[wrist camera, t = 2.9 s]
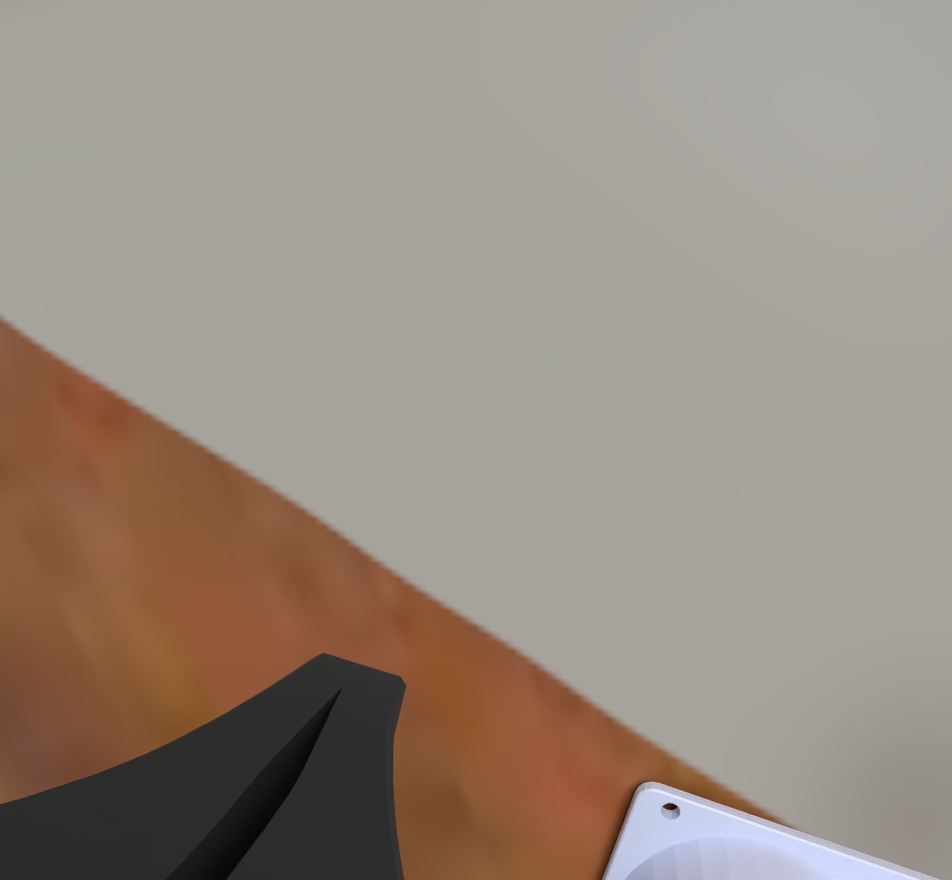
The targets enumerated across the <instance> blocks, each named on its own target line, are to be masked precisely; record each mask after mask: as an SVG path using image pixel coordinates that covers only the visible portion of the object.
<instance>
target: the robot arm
mask: <svg viewBox="0 0 952 880" xmlns="http://www.w3.org/2000/svg"><path fill="white" fill-rule="evenodd" d="M405 689H406V685H405V683H404V682H403V680H402V678H401V677H399V676H396V675H393V674H390V673H387V672H383V671H380V670H377V669H374V668H370V667H367V666H364V665H361V664H358V663H354V662H351V661H348V660H345V659H341V658H338V657H335V656H332V655H329V654H325V653H322V654H320V655H318V656H316V657H315V658H313V659H312V660H310V661H308V662H307V663H305V664H304V665H302V666H301V667H299V668H298V669H296V670H295V671H293V672H292V673H290V674H289V675H287V676H286V677H284V678H283V679H281V680H279V681H278V682H276V683H275V684H273V685H272V686H270V687H268V688H267V689H265V690H264V691H262V692H260V693H259V694H257V695H255V696H254V697H252V698H250V699H249V700H247V701H245V702H244V703H242V704H240V705H239V706H237V707H235V708H234V709H232V710H230V711H229V712H227V713H225V714H223V715H222V716H220V717H218V718H216V719H214V720H212V721H211V722H209V723H207V724H205V725H203V726H201V727H199V728H197V729H195V730H193V731H191V732H190V733H188V734H186V735H184V736H182V737H180V738H178V739H176V740H174V741H172V742H170V743H168V744H166V745H164V746H162V747H160V748H158V749H155V750H153V751H151V752H149V753H147V754H145V755H142V756H140V757H138V758H135V759H133V760H130V761H128V762H125V763H123V764H120V765H118V766H116V767H113V768H111V769H108V770H105V771H103V772H100V773H97V774H95V775H92V776H89V777H86V778H83V779H80V780H77V781H74V782H71V783H68V784H65V785H62V786H59V787H56V788H53V789H49V790H46V791H43V792H40V793H37V794H34V795H31V796H28V797H25V798H22V799H18V800H15V801H11V802H7V803H4V804H0V880H404V877H403V871H402V865H401V859H400V853H399V846H398V838H397V829H396V820H395V807H394V792H393V743H394V733H395V729H396V725H397V721H398V717H399V713H400V709H401V705H402V701H403V697H404V693H405ZM667 803H674V804H675V805H677V806H678V807H677V808H676V809H674V810H667V809H665V808H663V807H662V806H663V805H664V804H667ZM602 880H940V879H937V878H934V877H931V876H928V875H925V874H922V873H920V872H917V871H914V870H911V869H908V868H905V867H902V866H899V865H896V864H893V863H890V862H888V861H885V860H882V859H879V858H876V857H873V856H870V855H867V854H864V853H861V852H858V851H855V850H853V849H850V848H847V847H844V846H841V845H838V844H835V843H832V842H829V841H826V840H824V839H821V838H818V837H815V836H812V835H809V834H806V833H803V832H800V831H797V830H794V829H792V828H789V827H786V826H783V825H780V824H777V823H774V822H771V821H768V820H765V819H762V818H760V817H757V816H754V815H751V814H748V813H745V812H742V811H739V810H736V809H733V808H730V807H728V806H725V805H722V804H719V803H716V802H713V801H710V800H707V799H704V798H701V797H698V796H696V795H693V794H690V793H687V792H684V791H681V790H678V789H675V788H672V787H669V786H666V785H664V784H661V783H657V782H645V783H643V784H641V785H640V786H639V787H638V788H637V790H636V791H635V794H634V796H633V799H632V801H631V804H630V807H629V809H628V812H627V815H626V817H625V820H624V823H623V825H622V828H621V830H620V833H619V836H618V838H617V841H616V844H615V846H614V849H613V852H612V854H611V857H610V860H609V862H608V865H607V867H606V870H605V873H604V875H603V878H602Z"/></svg>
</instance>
